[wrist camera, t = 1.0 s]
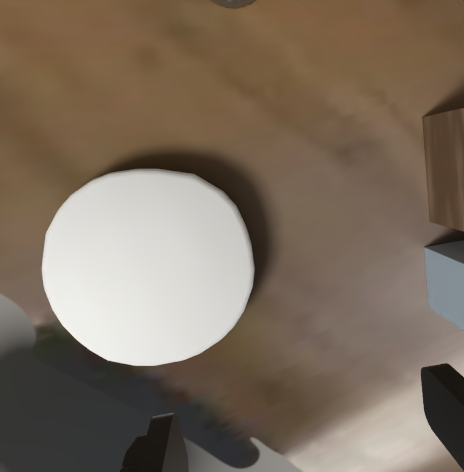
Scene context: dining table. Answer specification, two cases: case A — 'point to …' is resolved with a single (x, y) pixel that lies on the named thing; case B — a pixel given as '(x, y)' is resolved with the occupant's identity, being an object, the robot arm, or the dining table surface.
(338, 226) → the dining table surface
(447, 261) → the gray rectangular box
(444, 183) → the walnut box
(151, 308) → the plate
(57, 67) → the dining table surface
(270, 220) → the dining table surface
